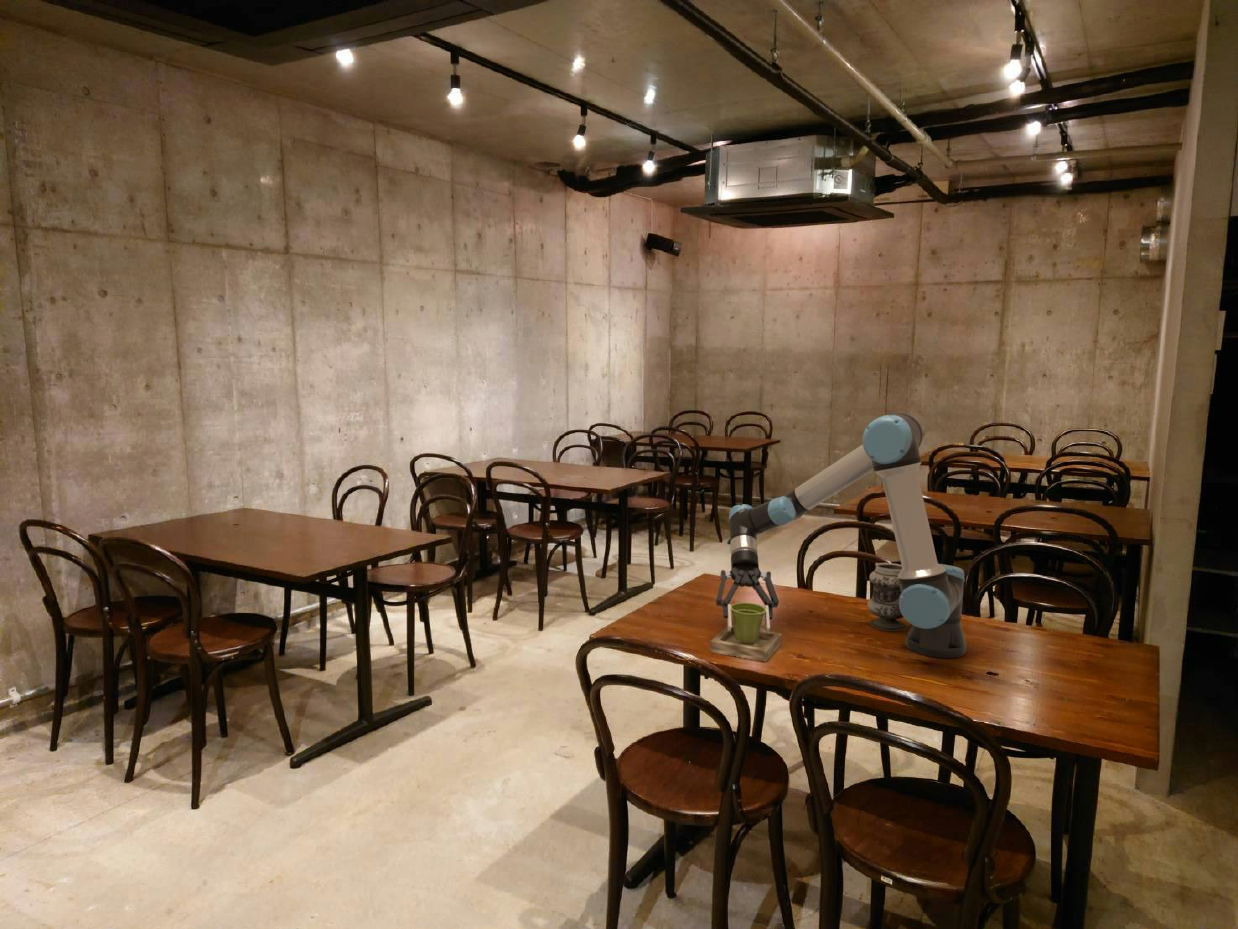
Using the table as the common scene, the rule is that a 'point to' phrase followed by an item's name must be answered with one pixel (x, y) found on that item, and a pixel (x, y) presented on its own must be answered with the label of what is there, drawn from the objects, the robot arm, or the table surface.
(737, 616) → the plant pot
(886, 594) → the apothecary jar
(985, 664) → the table surface
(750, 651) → the wooden tray
